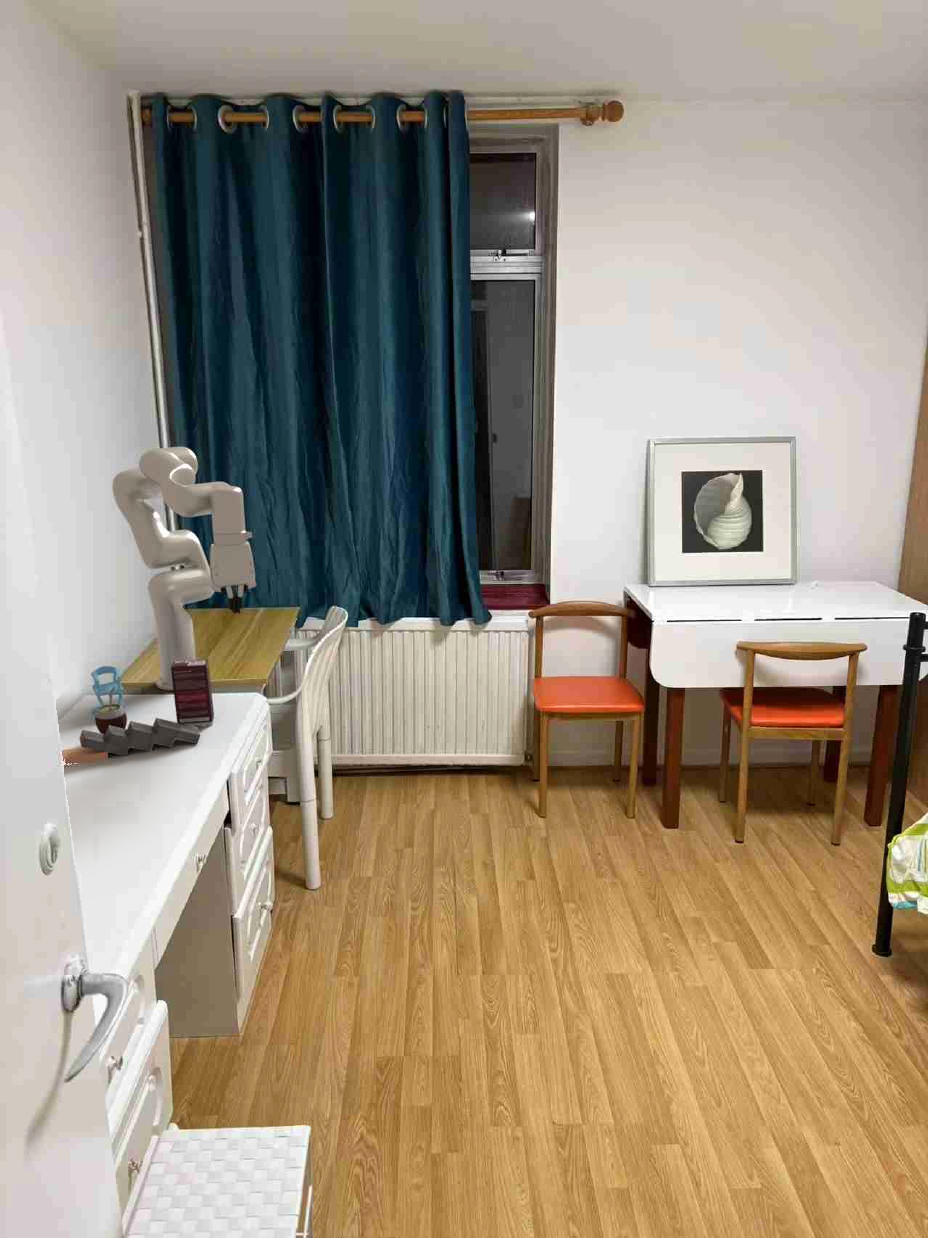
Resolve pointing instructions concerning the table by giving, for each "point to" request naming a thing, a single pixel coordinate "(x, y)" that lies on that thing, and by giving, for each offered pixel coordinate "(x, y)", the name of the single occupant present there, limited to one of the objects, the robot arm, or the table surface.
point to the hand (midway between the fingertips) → (236, 611)
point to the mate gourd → (110, 716)
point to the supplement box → (192, 692)
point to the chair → (107, 685)
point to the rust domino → (83, 755)
